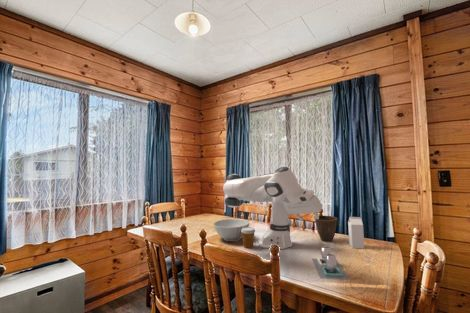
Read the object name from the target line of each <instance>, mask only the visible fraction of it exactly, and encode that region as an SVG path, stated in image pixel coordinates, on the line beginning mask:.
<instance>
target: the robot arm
mask: <svg viewBox="0 0 470 313" xmlns="http://www.w3.org/2000/svg"><path fill="white" fill-rule="evenodd" d="M225 181H226V182H225V183H223V187H222V189H223V193H224V198H225V199H224V204H225V205H226V206H227V207H229V208H232V209H234V208H237V207H239V206H240V205H241V203H242V201H246V202H255V203H257V202H258V203H269V202H270V203H272V212H271V214H272V216H271V218H272V222H269V224H268V225H269V229H267V230H266V231H265V232H264V233H263V235H262V236H261V239H260V240H259V242H258V246H259V248H264V249H270V248H269V247H270V245H271V244H276V245H278V246H279V247H280V249H279V250H285V249H287V248H290V247H292V246H293V243H292V238H291V235H290V234H291V224H290V220H289V218H290V215H294V216H295V217H296V218H298V220H299V221H301V222H302V221H303V220H304V219H305V218H304V216H303V215H301V214H310V213H313V214H314V216H313V218H314V220H316V219H319V216H320V215H319V212H321V210H322V209H323V204H322V202H321V201H320V199H319V198H318V196H317V195H316V194H315V192H314V190H313V189H307V188H303V187H302V186H301V185H300V184H299V180H298V179H297V176H296V175H295V173H294V171H292V170H291V168H290V167H288V166H282V167H278V168H277V169H276V170H274V171H273V172H272V173H265V174H260V175H255V176H250V177H244V178H242V177H241V175H239V174H237V173H232V174H228V175H227V177H226V179H225Z"/></svg>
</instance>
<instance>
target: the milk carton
mask: <svg viewBox="0 0 470 313" xmlns="http://www.w3.org/2000/svg"><path fill="white" fill-rule="evenodd" d="M347 225H348V228H347V229H348V244H349V246H350V247H351V248H352V249H365V238H364V237H365V235H364V224H363V220H362V216H349V217H348V221H347Z"/></svg>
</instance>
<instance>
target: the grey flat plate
mask: <svg viewBox="0 0 470 313" xmlns="http://www.w3.org/2000/svg"><path fill="white" fill-rule="evenodd" d="M311 260H312V262H313V264H314V267H315V270H316V271H317V274H318V276H319V278H320V279H326V280H327V279H328V280H351V278H350V276H348V274H347V272H346V271H345V269H343V267H342V265H341V264H340V262H339V261H338V259H336V270H337V274H331V273H327V271H326V264H322V258H311ZM321 282H323V281H321ZM341 283H344V282H341Z"/></svg>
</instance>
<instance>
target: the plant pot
mask: <svg viewBox="0 0 470 313" xmlns="http://www.w3.org/2000/svg"><path fill="white" fill-rule="evenodd" d="M318 216H319V219H316V220H315V219H314V220H315V226H316V229H317V232H318V235H319V238H320V240H321V242H324V243H332V242H333V241H334V239H335V234H336V230H337V225H338V218H337V217H336V216H330V215H318Z"/></svg>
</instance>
